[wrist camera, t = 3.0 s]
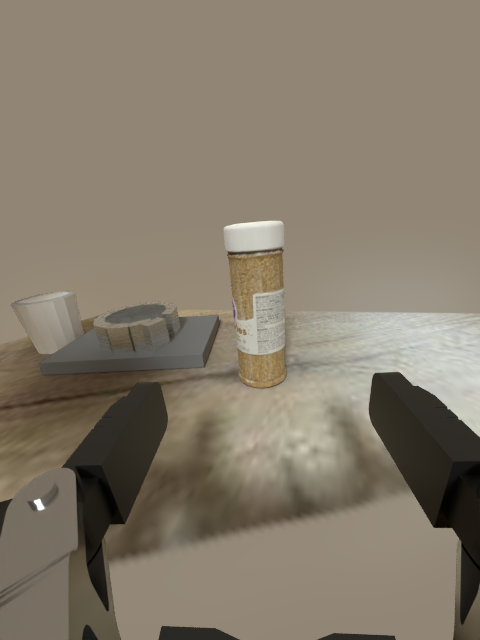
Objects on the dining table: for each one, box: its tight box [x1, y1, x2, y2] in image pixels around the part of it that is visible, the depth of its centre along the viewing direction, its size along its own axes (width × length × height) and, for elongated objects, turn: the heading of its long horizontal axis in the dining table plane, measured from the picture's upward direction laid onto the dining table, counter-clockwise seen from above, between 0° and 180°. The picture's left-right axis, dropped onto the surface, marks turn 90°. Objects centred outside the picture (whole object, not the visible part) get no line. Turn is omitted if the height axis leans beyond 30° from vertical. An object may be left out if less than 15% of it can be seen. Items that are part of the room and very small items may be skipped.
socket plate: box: [38, 315, 220, 375], centre depth 31 cm, size 18×12×2 cm, turn 87°
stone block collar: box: [93, 302, 181, 353], centre depth 31 cm, size 9×10×3 cm
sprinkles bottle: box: [224, 221, 287, 388], centre depth 21 cm, size 5×5×14 cm
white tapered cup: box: [11, 291, 84, 354], centre depth 33 cm, size 7×7×7 cm
